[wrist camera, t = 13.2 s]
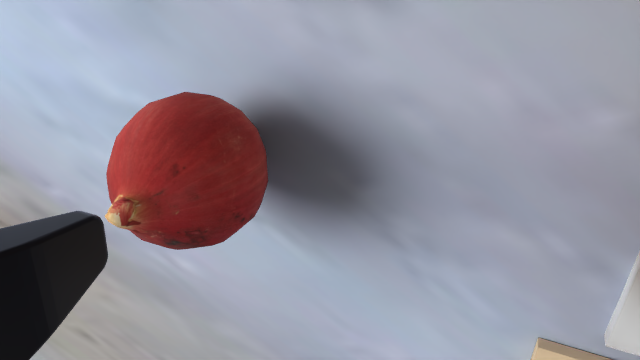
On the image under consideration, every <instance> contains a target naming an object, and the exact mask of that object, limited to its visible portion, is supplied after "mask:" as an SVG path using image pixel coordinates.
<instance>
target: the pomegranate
mask: <svg viewBox="0 0 640 360" xmlns="http://www.w3.org/2000/svg"><path fill="white" fill-rule="evenodd" d="M267 183H268V173H267V157H266V150H265V147H264V145H263V142H262V140H261V137H260V135H259V132H258V130H257V128H256V127H255V126H254V125H253V124H252V122H251V121H250V120H249V119H248V118H247V117H246V116H245V114H244V113H243V112H242V111H241V110H239V109H237V108H236V107H234V106H232V105H231V104H229V103H227V102H226V101H224V100H222V99H220V98H217V97H214V96H211V95H205V94H197V93H190V92H183V93H180V94H177V95H173V96H170V97H167V98H164V99H161V100H157V101H154V102H151V103H149V104H147V105H146V106H145V107H144V108H142V109H141V110H140V111H139V112H138V113H136V115H135V116H134V117H133V118H132V119H131V120H130V121H129V122H128V123H127V124H126V125H125V126H124V128H123V129H122V130H121V132H120V133H119V134H118V136H117V137H116V140H115V143H114V146H113V149H112V153H111V156H110V160H109V164H108V168H107V184H108V191H109V197H110V200H111V203H112V205H111V207H110V208H109V210H108V213H107V214H106V215H105V217H106V219H107V220H108V221H109V222H110V223H111V224H113V225H115V226H117V227H119V228H123V229H127V230H130V231H131V232H132V233H133V234H135V235H136V236H137V237H139V238H140V239H141V240H143V241H146V242H150V243H153V244H156V245H160V246H163V247H166V248H171V249H177V250H178V249H190V248H197V247H205V246H212V245H215V244H218V243H221V242H224V241H225V240H226V239H228V238H229V237H230V236H232V235H233V234H234V233H236V232H237V231H238V230H239V229H240V228H242V227H243V226H244V225H245V224H246V223H247V222H249V221H250V220H251V219H252V218H253V217H254V216H255V214H256V213H257V211H258V209H259V207H260V205H261V202H262V199H263V196H264V193H265V190H266V186H267Z"/></svg>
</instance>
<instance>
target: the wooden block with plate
mask: <svg viewBox="0 0 640 360" xmlns="http://www.w3.org/2000/svg"><path fill="white" fill-rule="evenodd" d="M604 337H605V346H607V347H610V348H614V349H617V350H621V351H624V352H627V353H631V354H634V355H638V356H640V251H639V254H638V256H637V258H636V261H635V263H634V265H633V268H632V270H631V273H630V275H629V277H628V280H627V282H626V284H625V287H624V289H623V291H622V294H621V296H620V299H619V301H618V303H617V306H616V308H615V310H614V313H613V315H612V317H611V320H610V322H609V325H608V327H607V329H606V332H605V334H604Z"/></svg>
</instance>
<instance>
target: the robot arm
mask: <svg viewBox="0 0 640 360" xmlns="http://www.w3.org/2000/svg"><path fill="white" fill-rule="evenodd" d="M107 259H108V251H107V244H106V237H105V231H104V224H103V221H102V220H101V218H100V217H98V216H96V215H93V214H90V213H87V212H83V211H74V212H70V213H65V214H61V215H57V216H53V217H48V218H44V219H40V220H35V221H31V222H27V223H23V224H18V225H14V226H10V227H5V228H1V229H0V360H29V359H30V358H31V357H32V356H33V355H34V354H35V353H36V352H37V351H38V350H39V349H40V348H41V346H42V345H43V344H44V343H45V342H46V341H47V340H48V339H49V338H50V336H51V335H52V334H53V333H54V332H55V330H56V329H57V328H58V327H59V325H60V324H61V323H62V322H63V320H64V319H65V318H66V316H67V315H68V314H69V313H70V311H71V310H72V309H73V307H74V306H75V305H76V303H77V302H78V301H79V300H80V298H81V297H82V296H83V294H84V293H85V292H86V291H87V289H88V288H89V287H90V285H91V284H92V283H93V282H94V280H95V279H96V278H97V276H98V275H99V274H100V273H101V271H102V270H103V269H104V267H105V265H106V263H107Z"/></svg>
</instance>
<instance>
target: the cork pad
mask: <svg viewBox="0 0 640 360" xmlns="http://www.w3.org/2000/svg"><path fill="white" fill-rule="evenodd" d="M531 360H612V359H609V358H606V357H602V356H599V355H596V354H592V353H589V352H585V351H582V350H579V349H575V348H572V347H568V346H565V345H562V344H558V343H555V342H552V341H548V340H545V339H541V338H538V340H537V343H536V345H535V348H534V351H533V354H532V357H531Z"/></svg>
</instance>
